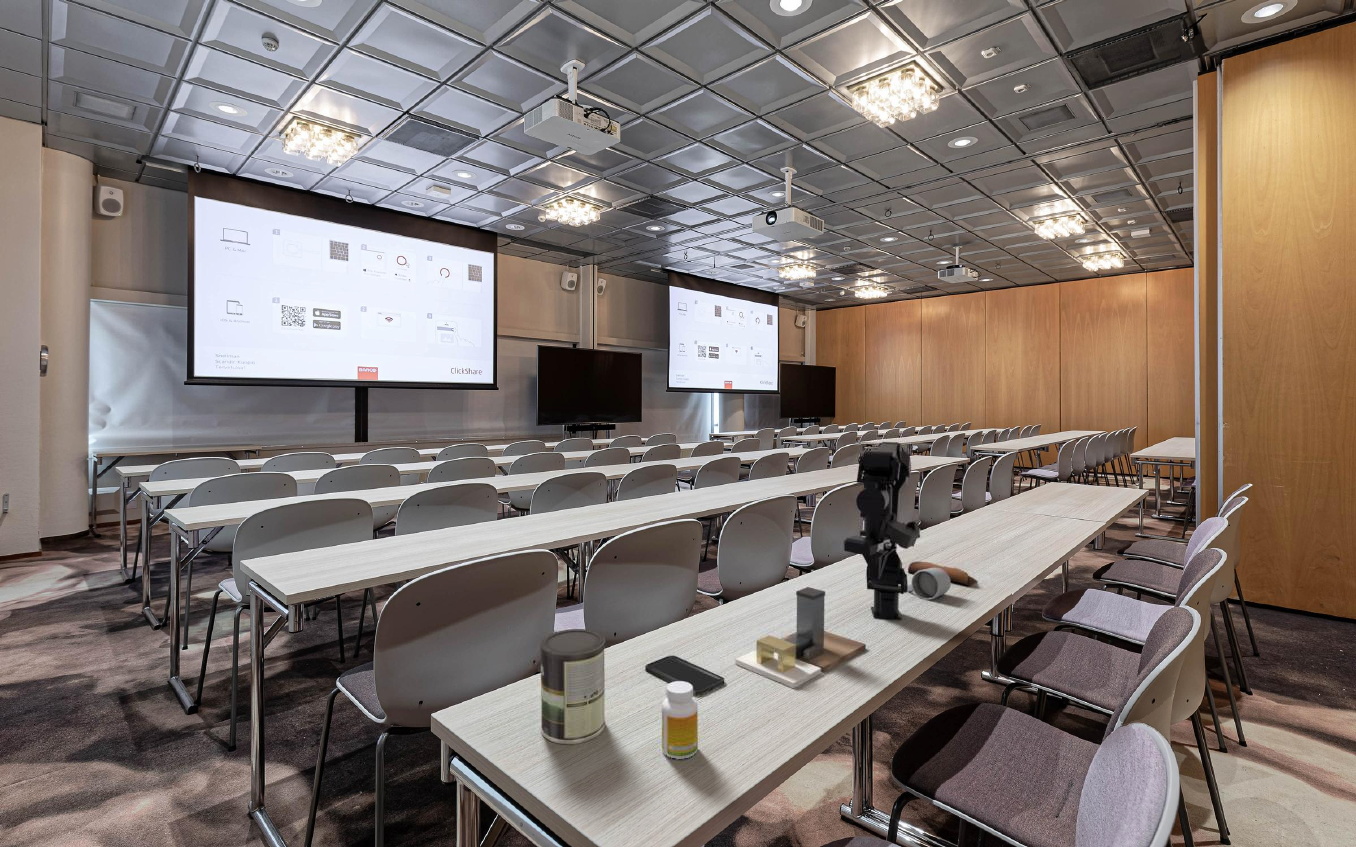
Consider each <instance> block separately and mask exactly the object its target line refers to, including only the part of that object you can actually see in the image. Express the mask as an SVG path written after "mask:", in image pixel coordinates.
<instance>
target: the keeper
mask: <svg viewBox="0 0 1356 847" xmlns="http://www.w3.org/2000/svg"><path fill="white" fill-rule="evenodd" d="M755 647H756V649H755V650H756V662H757V663H760V664H763V663H765V662H767V661H769V660H771V659H773V658H774V652H775V653H777V654H778V671H780V672H782V673H784V672H786V671H788V670H790V669H792V668H793V667H795V666H796V644H793V643H790V642H787V641H784V640H782V638H778V637H775V636H774V635H770V634H769V635H766V636H764V637H761V638H759V639H757V640H756V646H755Z"/></svg>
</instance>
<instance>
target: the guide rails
mask: <svg viewBox="0 0 1356 847" xmlns="http://www.w3.org/2000/svg"><path fill="white" fill-rule="evenodd" d="M793 637H795V635H793V636H791V637H788V638H786V639H784V641H786V640H789V639H791V638H793ZM822 654H823V645H821V644H816V645H814V646H812V647H810V648H808V649H806V650H804V660H807V661H810V660H812V659H814V658H816V657H818V656H820V655H822Z"/></svg>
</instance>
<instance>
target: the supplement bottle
mask: <svg viewBox="0 0 1356 847" xmlns="http://www.w3.org/2000/svg"><path fill="white" fill-rule="evenodd" d="M665 695H666V698H665V699H664V700H663V701H662V704H661V750H662V753H663V754H664V756H666V755H667V756H666V757H668V756H669V757H668V758H670V757H671V758H670V759H672V758H676V759H675V760H678V759H683V760H685V759H684V758H688V759H689V757H690V758H692V757H694V756H695V755H696V754H697V752H698V747H699V746H698V745H699V744H698V743H699V742H698V740H699V738H698V736H699V735H698V731H699V730H698V725H699V724H698V721H699V720H698V718H699V716H698V715H699V714H698V712H699V711H698V710H699V709H698V702H697V701H696V699H695V698H694V695H693V686H692V685H691V684H690V683H688V682H684V681H676V682H672V683H668V684H667V685H666V691H665ZM695 753H696V754H695ZM694 754H695V755H694ZM691 756H692V757H691Z"/></svg>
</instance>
